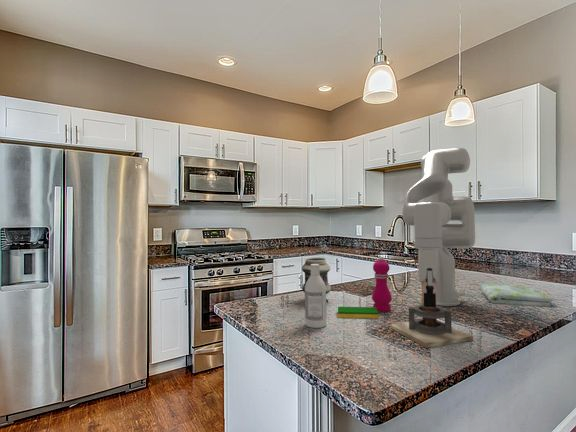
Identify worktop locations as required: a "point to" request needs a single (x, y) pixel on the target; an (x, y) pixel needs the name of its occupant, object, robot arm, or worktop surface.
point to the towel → (515, 295)
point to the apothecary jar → (323, 271)
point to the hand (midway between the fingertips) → (429, 303)
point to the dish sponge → (357, 312)
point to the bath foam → (315, 299)
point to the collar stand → (431, 328)
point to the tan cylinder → (428, 310)
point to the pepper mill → (381, 286)
